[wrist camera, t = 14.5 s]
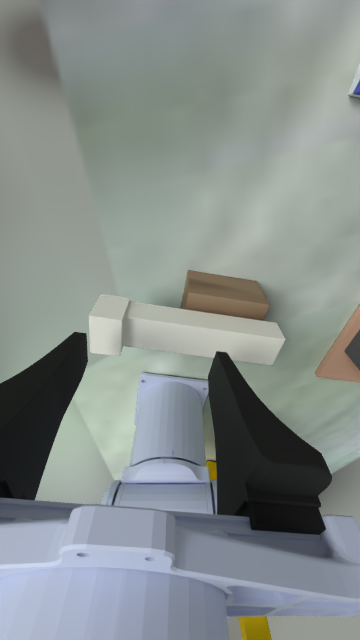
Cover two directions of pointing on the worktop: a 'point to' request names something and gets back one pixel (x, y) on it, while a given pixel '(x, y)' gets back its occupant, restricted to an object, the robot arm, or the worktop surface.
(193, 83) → the worktop surface
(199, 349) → the strap
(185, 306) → the block
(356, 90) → the hard drive
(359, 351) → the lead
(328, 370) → the mat
